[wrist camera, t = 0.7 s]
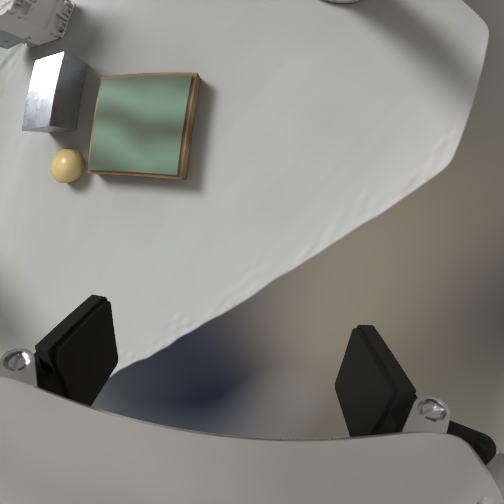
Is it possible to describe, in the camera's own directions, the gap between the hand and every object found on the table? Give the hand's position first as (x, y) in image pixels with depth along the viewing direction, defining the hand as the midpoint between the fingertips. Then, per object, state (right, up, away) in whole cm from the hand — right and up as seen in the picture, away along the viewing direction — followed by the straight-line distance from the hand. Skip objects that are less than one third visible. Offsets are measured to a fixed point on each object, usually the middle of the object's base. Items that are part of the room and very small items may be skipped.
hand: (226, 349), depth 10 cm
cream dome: (-26, +17, +26) cm, 41 cm away
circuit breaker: (-38, +44, +18) cm, 61 cm away
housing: (-28, +28, +23) cm, 45 cm away
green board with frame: (-14, +21, +24) cm, 35 cm away
